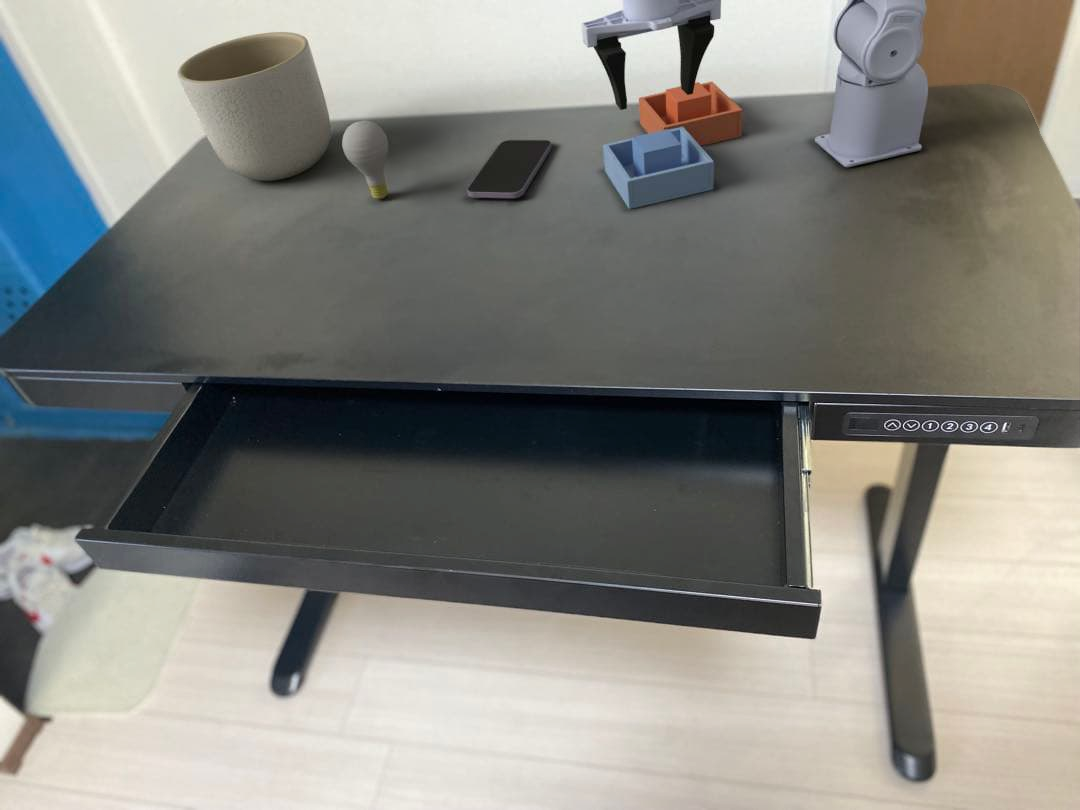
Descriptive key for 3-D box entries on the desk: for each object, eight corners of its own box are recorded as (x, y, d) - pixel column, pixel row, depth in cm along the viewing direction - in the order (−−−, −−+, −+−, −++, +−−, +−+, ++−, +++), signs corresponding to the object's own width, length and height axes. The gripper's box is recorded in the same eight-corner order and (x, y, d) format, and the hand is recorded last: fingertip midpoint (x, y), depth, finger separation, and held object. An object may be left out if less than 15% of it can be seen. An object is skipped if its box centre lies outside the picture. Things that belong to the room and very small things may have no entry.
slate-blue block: (669, 164, 96) (668, 128, 93) (681, 180, 93) (681, 144, 90) (633, 172, 96) (631, 137, 93) (645, 188, 93) (643, 152, 90)
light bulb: (410, 189, 102) (389, 114, 95) (387, 211, 98) (364, 134, 92) (375, 186, 104) (353, 111, 97) (352, 206, 101) (327, 131, 94)
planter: (304, 196, 104) (261, 81, 94) (200, 192, 110) (149, 82, 100) (363, 138, 116) (331, 29, 105) (267, 136, 121) (227, 33, 111)
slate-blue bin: (683, 153, 99) (683, 126, 97) (713, 189, 91) (714, 161, 89) (604, 171, 98) (602, 144, 96) (629, 209, 91) (627, 181, 88)
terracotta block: (698, 115, 105) (698, 81, 102) (711, 128, 102) (711, 94, 99) (666, 123, 105) (665, 89, 102) (677, 136, 101) (677, 102, 98)
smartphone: (553, 139, 105) (520, 193, 95) (554, 147, 106) (521, 201, 95) (502, 139, 107) (463, 192, 97) (503, 147, 108) (465, 200, 97)
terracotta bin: (711, 106, 108) (712, 81, 105) (741, 136, 100) (742, 109, 98) (639, 123, 107) (638, 97, 105) (664, 154, 99) (663, 127, 97)
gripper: (589, -11, 76) (601, 126, 85) (734, -42, 77) (730, 97, 86) (571, -29, 81) (584, 102, 90) (707, -57, 82) (706, 75, 91)
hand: (654, 98), depth 88 cm, fingers open, 7 cm apart
